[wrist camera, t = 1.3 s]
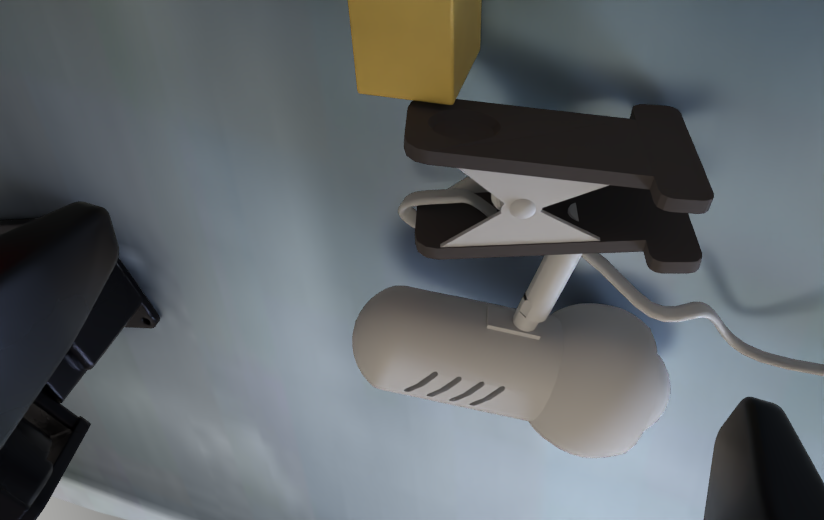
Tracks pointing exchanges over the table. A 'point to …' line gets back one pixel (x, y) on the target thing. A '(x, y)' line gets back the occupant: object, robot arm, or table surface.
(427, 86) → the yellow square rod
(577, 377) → the clip-on lamp
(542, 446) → the table surface
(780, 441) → the robot arm
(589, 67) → the table surface
